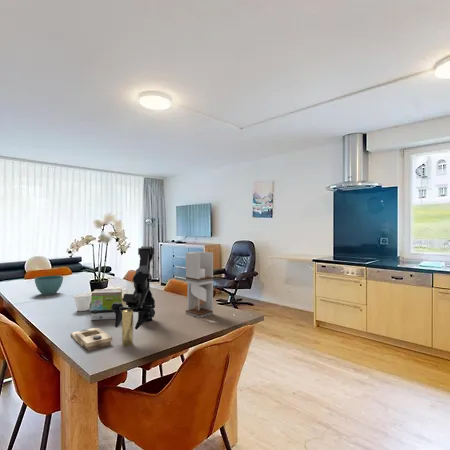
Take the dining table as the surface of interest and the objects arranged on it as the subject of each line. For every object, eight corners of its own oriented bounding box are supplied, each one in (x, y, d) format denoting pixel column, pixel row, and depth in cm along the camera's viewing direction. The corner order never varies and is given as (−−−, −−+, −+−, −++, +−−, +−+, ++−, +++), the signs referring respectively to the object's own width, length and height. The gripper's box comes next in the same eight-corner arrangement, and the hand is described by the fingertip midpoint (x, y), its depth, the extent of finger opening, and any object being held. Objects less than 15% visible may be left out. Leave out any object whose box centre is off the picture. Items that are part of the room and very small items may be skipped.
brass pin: (132, 341, 129) (132, 308, 129) (133, 345, 125) (133, 311, 125) (121, 342, 127) (121, 309, 127) (122, 346, 123) (122, 312, 123)
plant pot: (28, 295, 216) (28, 278, 216) (49, 290, 233) (50, 275, 233) (48, 297, 210) (48, 280, 211) (68, 292, 228) (68, 276, 228)
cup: (84, 313, 172) (85, 296, 172) (69, 312, 174) (69, 296, 174) (95, 308, 182) (95, 293, 182) (81, 307, 184) (81, 292, 184)
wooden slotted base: (93, 331, 142) (93, 323, 142) (112, 344, 126) (112, 335, 126) (70, 336, 135) (70, 328, 135) (87, 350, 119) (87, 341, 119)
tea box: (90, 321, 158) (90, 292, 158) (93, 315, 167) (93, 289, 167) (120, 318, 162) (120, 291, 162) (121, 313, 171) (122, 287, 171)
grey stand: (185, 313, 171) (186, 252, 172) (200, 310, 179) (200, 251, 179) (198, 318, 163) (198, 253, 164) (212, 314, 171) (213, 252, 171)
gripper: (113, 284, 132) (97, 316, 121) (152, 286, 128) (139, 320, 117) (123, 298, 140) (108, 330, 129) (160, 300, 136) (148, 333, 125)
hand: (125, 328), depth 125 cm, fingers open, 9 cm apart
